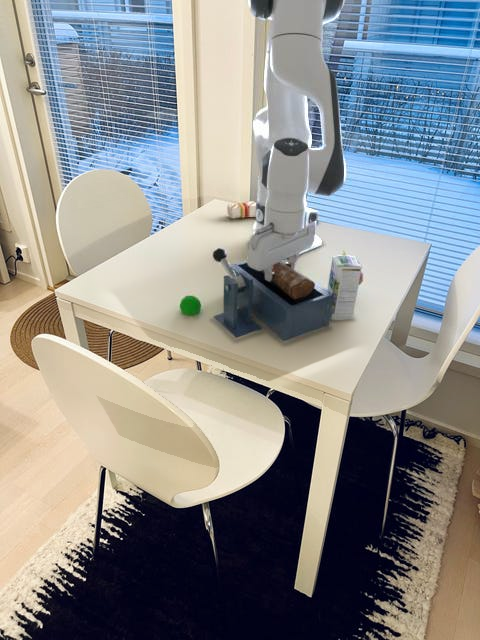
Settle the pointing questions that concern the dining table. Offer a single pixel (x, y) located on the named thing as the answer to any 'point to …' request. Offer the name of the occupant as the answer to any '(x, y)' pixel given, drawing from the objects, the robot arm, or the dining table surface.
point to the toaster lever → (229, 268)
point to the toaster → (286, 306)
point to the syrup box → (344, 286)
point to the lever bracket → (238, 318)
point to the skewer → (242, 210)
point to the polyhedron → (190, 305)
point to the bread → (291, 281)
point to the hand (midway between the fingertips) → (279, 274)
